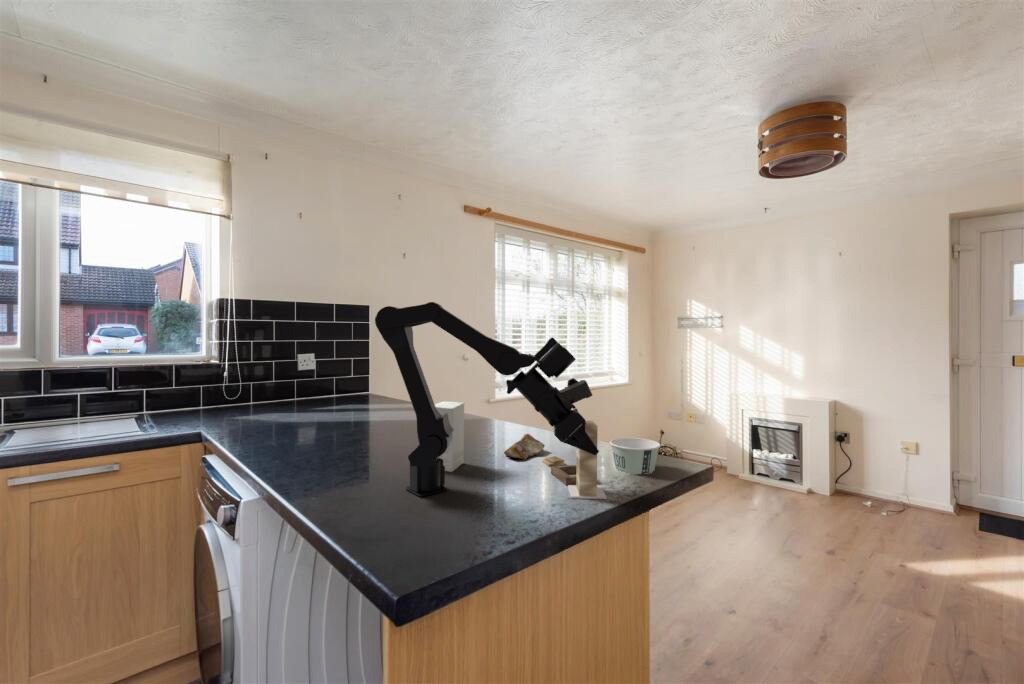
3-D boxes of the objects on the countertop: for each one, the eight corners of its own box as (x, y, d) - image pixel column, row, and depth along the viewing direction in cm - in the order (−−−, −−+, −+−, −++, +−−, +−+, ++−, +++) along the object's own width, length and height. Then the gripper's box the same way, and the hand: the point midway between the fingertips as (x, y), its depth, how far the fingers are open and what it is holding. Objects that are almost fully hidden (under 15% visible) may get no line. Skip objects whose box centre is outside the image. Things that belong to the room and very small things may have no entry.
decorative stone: (549, 433, 132) (530, 451, 118) (550, 448, 132) (530, 468, 119) (518, 430, 136) (496, 447, 122) (518, 444, 136) (496, 463, 123)
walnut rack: (566, 485, 101) (566, 478, 101) (551, 473, 110) (551, 466, 110) (596, 482, 103) (596, 475, 103) (579, 471, 112) (579, 464, 112)
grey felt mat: (571, 498, 93) (571, 496, 93) (567, 487, 100) (567, 485, 100) (606, 498, 93) (606, 496, 93) (600, 487, 100) (600, 485, 100)
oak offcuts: (549, 466, 116) (549, 461, 116) (542, 461, 120) (542, 456, 120) (565, 465, 117) (565, 460, 117) (557, 460, 121) (557, 455, 121)
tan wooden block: (579, 495, 94) (579, 426, 93) (576, 485, 100) (576, 420, 100) (596, 496, 93) (597, 426, 93) (592, 486, 100) (593, 420, 99)
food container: (671, 472, 112) (671, 445, 112) (633, 479, 106) (634, 451, 106) (635, 460, 122) (635, 435, 122) (599, 466, 116) (599, 440, 116)
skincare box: (441, 461, 120) (441, 400, 119) (465, 463, 118) (466, 402, 118) (427, 470, 112) (427, 405, 111) (453, 472, 110) (453, 406, 110)
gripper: (573, 370, 87) (632, 429, 87) (564, 363, 106) (612, 413, 105) (530, 411, 87) (589, 471, 87) (529, 398, 106) (577, 447, 106)
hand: (593, 447), depth 96 cm, fingers open, 9 cm apart
